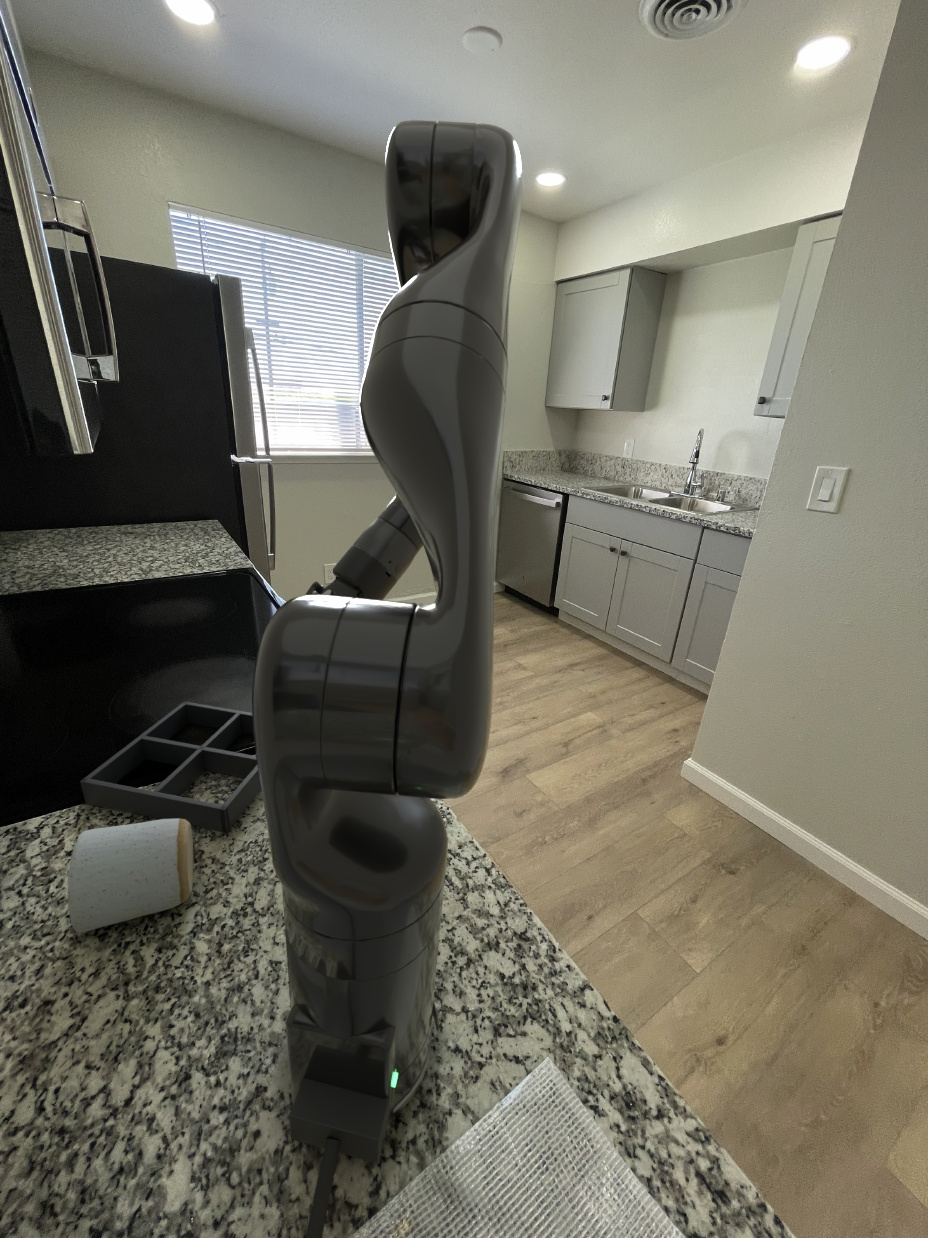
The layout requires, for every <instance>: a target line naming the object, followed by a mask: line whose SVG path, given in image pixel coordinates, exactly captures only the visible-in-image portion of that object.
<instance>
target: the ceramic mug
mask: <svg viewBox="0 0 928 1238" xmlns="http://www.w3.org/2000/svg"><path fill="white" fill-rule="evenodd" d="M193 843H194V842H193V830H192V825H190V823H189V822H188V821H187V820H185V819H155V820H148V821H143V822H137V823H130V824H129V823H128V824H121V825H115V826H114V825H113V826H106V827H100V828H91V829H87V830H83V831H82V832H81V833H80V834H79V836H78V837H77V838H76V842H75V843H74V846H73V849H72V854H71V858H70V860H69V861H70V862H69V867H68V875H67V906H68V908H67V909H68V914H69V919H70V924H71V927H72V928H73V930H74V931H75V932H76V933H78V934H79V933H80V934H82V933H86V932H87V933H88V932H90V931H93V930H96V929H97V930H98V929H100V928H104V927H108V926H111V925H116V924H118V923H123V922H126V921H130V920H132V919H136V918H140V917H144V916H147V915H152V914H157V913H160V912H163V911H167V910H170V909H173V908H175V907H177V906H180V905H181V904H184V903H185V902H186V901H187V900H188V899H189V898H190V897H191V895H192V892H193V886H194V884H193V883H194V844H193Z"/></svg>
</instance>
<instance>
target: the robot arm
mask: <svg viewBox="0 0 928 1238" xmlns="http://www.w3.org/2000/svg"><path fill="white" fill-rule="evenodd" d="M384 158H385V159H384V176H383V177H384V178H383V179H384V180H383V186H384V187H383V190H384V205H385V207H384V208H385V216H386V223H387V224H386V225H387V231H388V237H389V243H390V249H391V253H392V259H393V263H394V270H395V273H396V278H397V283H398V288H399V290H398V291H396V293H395V294H393V296H392V297H391V299H389V301H388V302H387V304H386V306H385V307H384V308H383V310H382V311H381V313H380V316H379V317H378V320H377V323H376V325H375V327H374V331H373V334H372V338H371V341H370V347H369V351H368V356H367V359H366V360H367V361H366V364H365V369H364V374H363V377H362V383H361V386H360V387H361V388H360V393H359V415H360V421H361V424H362V428H363V431H364V434H365V437H366V440H367V442H368V446H369V447H370V449H371V451H372V453H373V455H374V457H375V459H376V460H377V463H378V464H379V466H380V468H381V470H382V471H383V473H384V475H385V476H386V479H387V480H388V482H389V483H390V485H391V487H392V488H393V490H394V491H395V492H396V493H395V495H394V497H393V498H392V499H391V501H389V503H388V505H387V506H386V507H385V508H384V509H383V510H382V511H381V513H380V514H379V516H377V518H376V519H375V520H374V521H373V522H372V523H371V524H370V525H369V526H368V527H367V528H365V530H364V531H362V533H361V534H360V535H359V536H358V538H357V539H356V540H355V541H354V542H353V544H352V545H351V546H350V547H349V548H348V550H347V551H346V552H345V553H344V555H342V557H341V558H340V559H339V561H338V562H337V563H336V564H335V565H334V567H333V568H332V574H333V576H334V577H335V579H334V580H333V581H331V583H330V584H328V585H326V586H324V585H322V584H321V583H319V582H318V581H314V582H313V583H312V584H311V585H310V587H309V588H308V589H307V591H306V592H305V594H302V595H298V596H295V597H292V598H290V599H288V600H287V601H285V602H284V603H283V604H282V605H280V606H279V607H278V608H277V610H276V611H275V612H274V614H273V615H272V616H271V617H270V619H269V621H268V623H267V624H266V627H265V628H264V632H263V634H262V635H261V636H262V637H261V639H260V642H259V645H258V648H257V653H256V656H255V662H254V670H253V677H252V684H251V685H252V687H251V713H252V723H253V744H254V751H255V756H256V760H257V767H258V772H259V778H260V784H261V790H260V791H261V796H262V801H263V807H264V812H265V820H266V825H267V832H268V833H267V834H268V838H269V840H268V841H269V848H270V855H271V861H272V867H273V869H274V872H275V875H276V877H277V879H278V881H279V882H280V885H281V892H282V904H283V918H284V919H283V920H284V936H285V948H286V950H285V951H286V963H287V973H288V974H287V976H288V992H289V1003H290V1004H289V1005H290V1011H289V1013H288V1015H287V1018H286V1022H285V1030H286V1042H287V1054H288V1056H287V1057H288V1067H289V1079H290V1091H291V1104H292V1107H291V1109H290V1111H289V1115H288V1119H289V1127H290V1128H289V1131H290V1139H291V1140H292V1141H296V1142H299V1143H303V1144H306V1145H308V1146H309V1145H310V1146H312V1147H313V1146H314V1147H317V1148H321V1149H323V1153H322V1157H321V1162H320V1168H319V1171H318V1176H317V1181H316V1186H315V1190H314V1193H313V1194H314V1195H313V1199H312V1203H311V1208H310V1212H309V1218H308V1223H307V1228H306V1234H305V1238H323V1236H324V1235H323V1234H324V1230H325V1224H326V1220H327V1213H328V1209H329V1203H330V1198H331V1194H332V1189H333V1183H334V1179H335V1174H336V1169H337V1164H338V1159H339V1154H342V1155H346V1156H349V1157H354V1158H356V1159H361V1160H364V1161H368V1162H371V1163H375V1164H379V1161H380V1159H381V1154H382V1149H383V1145H384V1141H385V1139H386V1138H387V1137H388V1135H389V1133H390V1128H391V1124H392V1121H393V1118H394V1117H395V1116H396V1115H398V1114H399V1113H400V1112H401V1111H402V1110H403V1109H404V1108H405V1107H406V1106H407V1105H408V1104H409V1103H410V1101H412V1099H413V1097H414V1096H415V1094H416V1093H417V1092H418V1090H419V1088H420V1086H421V1084H422V1082H423V1079H424V1077H425V1075H426V1072H427V1069H428V1066H429V1062H430V1056H431V1049H432V1048H431V1047H432V1023H433V1022H434V1026H435V1029H436V1031H438V1023H439V1017H438V1015H437V1009H436V1005H435V1001H434V1000H435V987H436V978H437V977H436V976H437V968H438V967H437V966H438V955H439V944H440V933H441V925H442V924H441V923H442V913H443V903H444V894H445V893H444V892H445V882H446V874H447V873H446V872H447V866H448V865H447V864H448V855H449V838H448V831H447V827H446V822H445V820H444V818H443V814H442V813H441V812H440V810H439V808H438V807H437V806H436V804H435V802H434V801H433V800H432V799H437V800H454V799H456V800H457V799H459V798H462V797H464V796H466V795H467V794H469V793H470V792H471V791H472V790H473V788H474V787H475V786H476V784H477V783H478V780H479V778H480V776H481V774H482V772H483V768H484V764H485V762H486V757H487V753H488V749H489V742H490V741H489V740H490V735H491V729H492V718H493V717H492V714H493V704H494V703H493V702H494V699H493V698H494V667H495V666H494V664H495V663H494V662H495V661H494V660H495V659H494V658H495V657H494V655H495V653H494V652H495V651H494V650H495V647H494V646H495V644H494V643H495V628H494V627H495V622H494V621H495V605H494V603H495V590H494V589H495V588H494V587H495V516H496V515H495V514H496V513H495V511H496V496H497V486H498V476H499V466H500V458H501V450H502V449H501V448H502V440H503V431H504V422H505V412H506V404H507V403H506V401H507V388H508V387H507V385H508V372H509V370H508V369H509V317H510V315H509V314H510V313H509V312H510V296H511V295H510V293H511V285H512V276H513V271H514V270H513V269H514V263H515V256H516V251H517V250H516V249H517V243H518V236H519V232H520V231H519V230H520V224H521V217H522V210H523V209H522V208H523V196H524V195H523V194H524V172H523V162H522V157H521V153H520V148H519V146H518V143H517V141H516V140H515V137H514V136H513V135H512V133H510V132H509V131H508V130H506V129H504V128H503V127H500V126H497V125H495V124H489V123H483V122H482V123H476V122H463V121H446V120H445V121H444V120H438V121H436V120H424V119H423V120H422V119H421V120H419V119H412V120H404V121H403V120H402V121H400V122H398V123H396V125H395V126H394V127H393V129H392V131H391V133H390V135H389V137H388V141H387V145H386V152H385V157H384ZM422 548H423V549H424V551H425V554H426V557H427V560H428V561H427V562H428V563H429V567H430V571H431V575H432V581H433V585H434V589H435V593H436V598H435V600H434V602H432V603H421V602H420V603H417V602H409V601H401V600H400V601H398V600H388V599H387V600H386V599H385V598H386V597H387V595H388V594H389V593H390V591H391V590H392V589H393V588H394V586H395V585H396V584H397V583H398V582H399V581H400V579H401V578H402V576H403V575H404V574H405V573H406V572H407V570H408V569H409V568H410V566H411V565H412V563H413V561H414V559H415V558H416V556H417V555H418V553H419V552H420V551H421V549H422ZM433 1020H434V1021H433Z"/></svg>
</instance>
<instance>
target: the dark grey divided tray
mask: <svg viewBox="0 0 928 1238" xmlns="http://www.w3.org/2000/svg"><path fill="white" fill-rule="evenodd" d="M188 724H190V725H197V726H201V727H208V728H213V729H217V731H215V732H214V734H212V735H211V736H210V737H209V738H208V739H207V740H206V741H205V742H204V743H203V744H201V745H197V744H191V743H186V742H181V741H177V740H176V741H175V740H170V739H171V738H173V737H174V736H175V735H176V734H177V733H179V732H180V731H181V730H182V729H183V728H185V727H186V726H187V725H188ZM242 734H246V735H247V734H248V735H253V723H252V712H247V711H242V710H236V709H231V708H224V707H218V706H212V705H208V704H201V703H196V702H190V701H185V700H184V701H183V702H182V703H180V704H179V705H178V706H177V707H175V708H174V709H172V710H171V711H170V712H169V713H167V714H166V715H164V716H163V717H162V718H161V719H159V720H158V721H156V723H154V724H152V726H150V727H149V728H147V729H146V730H145V731H144V732H142V733H141V734H140V735H139V736H138V737H136V738H135V739H134V740H132V741H131V742H130V743H128V744H127V745H125V747H123V748H122V749H120V750H119V751H118V752H116V753H115V754H114V755H113V756H111V757H109V758H108V759H107V760H106V761H105V762H103V763H102V764H101V765H99V766H98V767H96V769H94V770H93V771H92V772H91V773H89V774H88V775H87V776H85V777H83V778H82V779H81V780H80V781H79V783H80V787H81V790H82V794H83V799H84V802H85V804H86V805H90V806H96V807H99V808H106V809H110V810H114V811H120V812H124V813H131V814H134V815H138V816H139V815H140V816H144V817H150V818H154V819H157V820H160V819H185V820H187V821H188V822H189V823H190V825H191V826H192V827H193V826H194V827H199V828H203V829H208V830H212V831H218V832H223V833H228V832H229V831H230V830H231V829H232V828H233V826H234V825H235V824H236V823H237V821H238V820H239V818H240V817H241V816H242V815H243V813H245V811H246V810H247V809H248V807H249V806H250V805H251V803H252V802H253V801H254V800H255V798H256V797H257V795H258V794H259V793H260V792H261V791H262V790H261V784H260V778H259V772H258V767H257V760H256V755H251V754H246V753H241V752H235V751H230V750H227V749H228V748H229V747H230V746H231V745H232V744H233V743H234V742H235V741H236V740H237V739H238V738H239V737H240V736H241V735H242ZM145 760H146V761H152V762H157V763H162V764H163V763H164V764H168V765H173V766H178V767H177V768H176V769H174V771H172V772H171V773H170V774H169V775H168V776H167V777H166V778H165V779H164V780H163V781H162V782H161V783H159V785H157V786H156V787H155V788H154V789H153V790H148V789H143V788H138V787H133V786H128V785H122V784H117V783H119V782H120V781H121V780H122V779H124V778H125V777H126V776H127V775H129V773H131V772H132V771H133V770H134V769H135V768H136V767H138V766H139V765H141V764H142V763H143V762H144V761H145ZM205 771H206V772H209V773H210V772H211V773H216V774H221V775H226V776H233V777H236V778H243V780H242V781H241V783H240V784H239V785H238V786H237V787H236V788H235V790H233V792H232V793H231V794H230V796H229V797H228V798H227V799H226V800H225V801H224V802H223V804H219V803H214V802H209V801H204V800H198V799H194V798H190V797H185V796H184V797H183V796H181V795H183V794H184V792H186V791H187V790H188V789H189V788H190V786H191V785H193V784H194V783H195V781H197V779H198V778H199V777H200V776H201V775H202V774H203V773H204V772H205Z"/></svg>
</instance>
